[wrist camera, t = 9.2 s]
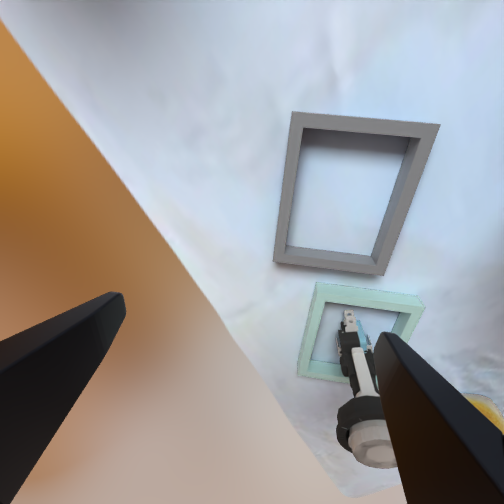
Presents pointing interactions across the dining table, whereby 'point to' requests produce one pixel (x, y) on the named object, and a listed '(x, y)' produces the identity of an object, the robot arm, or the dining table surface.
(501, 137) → the dining table surface
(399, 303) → the mint green frame
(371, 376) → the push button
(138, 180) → the dining table surface
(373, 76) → the dining table surface
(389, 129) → the grey rectangular frame
